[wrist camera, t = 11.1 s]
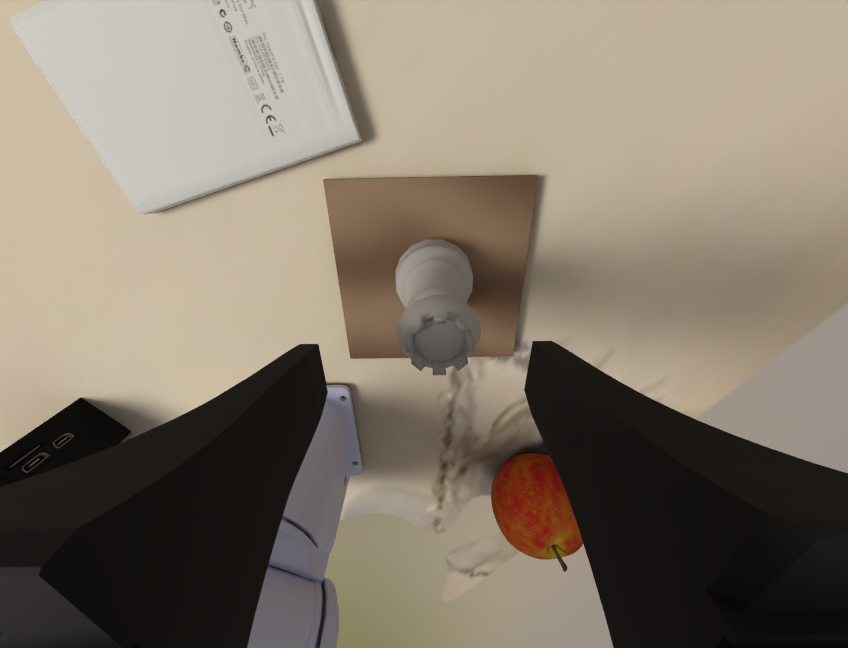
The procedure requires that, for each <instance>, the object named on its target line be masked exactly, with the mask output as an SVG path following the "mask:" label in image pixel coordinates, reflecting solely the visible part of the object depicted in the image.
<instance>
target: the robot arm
mask: <svg viewBox="0 0 848 648" xmlns="http://www.w3.org/2000/svg"><path fill="white" fill-rule="evenodd" d="M524 390H525V393H526V397H527V401H528V404H529V407H530V410H531V414H532V417H533V419H534V421H535V423H536V426H537V428H538V430H539V432H540V435H541V437H542V439H543V441H544V443H545V445H546V448H547V450H548V452H549V454H550V456H551V459H552V461H553V463H554V465H555V467H556V469H557V472H558V474H559V476H560V478H561V481H562V483H563V486H564V488H565V490H566V493H567V496H568V499H569V502H570V504H571V507H572V510H573V513H574V516H575V519H576V522H577V525H578V528H579V531H580V534H581V537H582V540H583V544H584V547H585V550H586V553H587V556H588V559H589V562H590V565H591V568H592V572H593V576H594V579H595V582H596V586H597V589H598V592H599V596H600V599H601V603H602V606H603V610H604V613H605V617H606V620H607V624H608V628H609V632H610V636H611V639H612V643H613V647H614V648H848V473H844V472H841V471H837V470H834V469H830V468H827V467H824V466H821V465H818V464H814V463H811V462H808V461H805V460H802V459H799V458H796V457H794V456H791V455H788V454H785V453H782V452H779V451H776V450H773V449H770V448H767V447H764V446H762V445H759V444H756V443H754V442H750V441H748V440H745V439H743V438H740V437H737V436H735V435H732V434H730V433H727V432H725V431H722V430H720V429H717V428H715V427H712V426H710V425H707V424H705V423H702V422H700V421H698V420H696V419H693V418H691V417H689V416H686V415H684V414H682V413H680V412H678V411H675V410H673V409H671V408H669V407H667V406H665V405H663V404H661V403H659V402H656V401H654V400H652V399H650V398H649V397H647V396H645V395H643V394H641V393H639V392H637V391H635V390H633V389H632V388H630V387H628V386H626V385H624V384H623V383H621V382H619V381H617V380H616V379H614V378H612V377H610V376H609V375H607V374H605V373H604V372H602V371H600V370H599V369H597V368H595V367H594V366H592V365H591V364H589V363H587V362H586V361H584V360H583V359H581V358H579V357H578V356H576V355H575V354H573V353H571V352H570V351H568V350H566V349H565V348H563V347H561V346H560V345H558V344H556V343H554V342H552V341H533V344H532V349H531V355H530V361H529V367H528V372H527V378H526V384H525V389H524ZM341 396H345V397H346V398H343V397H341ZM362 469H363V466H362V460H361V454H360V448H359V442H358V436H357V430H356V423H355V417H354V411H353V405H352V399H351V393H350V389H349V387H348V386H346V385H326V380H325V375H324V370H323V365H322V360H321V355H320V350H319V345H318V344H300V345H298V346H296V347H294V348H293V349H291V350H289V351H288V352H286V353H285V354H283V355H282V356H280V357H279V358H277V359H276V360H274V361H273V362H271V363H270V364H268V365H267V366H265V367H264V368H262V369H261V370H259V371H258V372H256V373H255V374H253V375H251V376H250V377H248V378H247V379H245V380H243V381H242V382H240V383H239V384H237V385H235V386H234V387H232V388H230V389H229V390H227V391H225V392H224V393H222V394H220V395H219V396H217V397H215V398H214V399H212V400H210V401H208V402H206V403H205V404H203V405H201V406H199V407H197V408H195V409H193V410H191V411H189V412H187V413H185V414H183V415H181V416H180V417H178V418H175V419H173V420H171V421H169V422H167V423H165V424H163V425H160V426H158V427H156V428H154V429H151V430H149V431H147V432H145V433H143V434H140V435H138V436H136V437H134V438H131V439H129V440H127V441H125V442H122V443H120V444H117V445H115V446H113V447H110V448H108V449H105V450H103V451H100V452H98V453H95V454H93V455H90V456H87V457H85V458H82V459H79V460H77V461H74V462H71V463H69V464H66V465H63V466H61V467H58V468H55V469H52V470H50V471H47V472H44V473H41V474H38V475H35V476H32V477H29V478H26V479H23V480H20V481H17V482H14V483H11V484H8V485H5V486H2V487H0V648H336V645H337V638H338V629H339V609H338V603H337V594H336V589H335V586H334V584H333V582H332V581H331V580H330V579H327V578H325V577H324V575H325V570H326V567H327V562H328V558H329V554H330V552H331V550H332V547H333V544H334V541H335V537H336V532H337V528H338V524H339V520H340V515H341V511H342V507H343V503H344V498H345V494H346V490H347V486H348V481H349V477H350V475H359V474H361V473H362Z"/></svg>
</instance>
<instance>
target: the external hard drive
mask: <svg viewBox="0 0 848 648" xmlns="http://www.w3.org/2000/svg"><path fill="white" fill-rule="evenodd" d="M10 22H11V25H12V27H13V29H14V31H15V32H16V34H17V36H18V37H19V39H20V40H21V42H22V43H23V44H24V46H25V47H26V49H27V50H28V52H29V53H30V55H31V56H32V58H33V59H34V61H35V62H36V64H37V65H38V66H39V68H40V70H41V71H42V73H43V74H44V75H45V77H46V78H47V80H48V81H49V83H50V84H51V86H52V87H53V89H54V90H55V92H56V93H57V94H58V96H59V97H60V99H61V100H62V102H63V103H64V105H65V106H66V108H67V109H68V111H69V112H70V114H71V115H72V117H73V118H74V120H75V121H76V123H77V124H78V126H79V127H80V128H81V130H82V131H83V133H84V134H85V136H86V137H87V138H88V140H89V142H90V144H91V145H92V146H93V148H94V149H95V151H96V152H97V154H98V155H99V157H100V158H101V160H102V161H103V162H104V164H105V165H106V167H107V168H108V170H109V172H110V173H111V174H112V176H113V177H114V179H115V180H116V182H117V183H118V185H119V186H120V188H121V189H122V191H123V192H124V193H125V195H126V196H127V198H128V199H129V201H130V202H131V203H132V204H133V206H134V207H135V208H136V209H137V210H138V212H139V213H141V214H150V213H157V212H159V211H162V210H165V209H168V208H171V207H174V206H177V205H180V204H183V203H185V202H188V201H191V200H194V199H197V198H200V197H202V196H205V195H208V194H211V193H214V192H217V191H220V190H223V189H226V188H229V187H231V186H234V185H237V184H240V183H243V182H246V181H249V180H252V179H255V178H258V177H261V176H263V175H266V174H269V173H272V172H275V171H278V170H281V169H284V168H287V167H290V166H293V165H295V164H298V163H301V162H304V161H307V160H310V159H313V158H316V157H319V156H322V155H324V154H327V153H330V152H333V151H336V150H339V149H342V148H345V147H348V146H351V145H353V144H356V143H359V142H362V137H361V134H360V131H359V128H358V125H357V122H356V119H355V116H354V113H353V110H352V107H351V104H350V101H349V98H348V95H347V92H346V89H345V86H344V83H343V80H342V76H341V73H340V70H339V67H338V64H337V61H336V59H335V57H334V54H333V52H332V49H331V46H330V43H329V39H328V36H327V33H326V30H325V27H324V24H323V21H322V15H321V12H320V9H319V6H318V3H317V0H45V1H43V2H40V3H38V4H36V5H34V6H32V7H30V8H28V9H25V10H23V11H21V12H19V13H17V14H15V15H13V16H11V17H10Z"/></svg>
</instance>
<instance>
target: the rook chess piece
mask: <svg viewBox="0 0 848 648" xmlns="http://www.w3.org/2000/svg"><path fill="white" fill-rule="evenodd" d="M395 273H396V276H395V279H396V292H397V294H398V296H399V298H400V300H401V302H402V304H403V305H404V306H405V307H406V310H405V311H404V312H403V313H402V316H401V318H400V321H399V323H398V325H397V338H398V343H399V345H400V347H401V348H402V350H403V352H404V354H405V355H406V356H408V357H409V358H410V359H411V360H412V362H411V364H413V365H414V366H415V367H416V368H418V369H419V370H420V371H421V370H422V369H423V368H424V367H425V366H426V367H429V368H433V375H446V370H445V368H448V367H450V366H453V365H454V366H455V367H456V368H457V370H458V371H459V370H460V369H461V368H463V367H464V366H465V365H466V364H468V360H467V358H468V357H469V356H470V355H471V354H473V353H474V350H475V348H476V347H477V345H478V343H479V341H480V334H481V324H480V322H479V319H478V317H477V314H476V312H475V311H474V310H473V309H472V308H471V307H470V306H469V305H468V304H467V300H468V298H469V296H470V294H471V292H472V288H473V273H472V268H471V265H470V263H469V260H468V257H467V256H466V255H465V254H464V253H463V252H462V250H461V249H460V248H459V247H458V246H457V245H454V244H452V243H449V242H447V241H445V240H442V239H437V240H424V241H422V242H419V243H417V244H415V245H412V246H411V247H410V248H409V249H408V250H407V251H406V252H405V253H404V254H403V255H402V256H401V257H400V260H399V263H398V265H397V268H396V271H395Z"/></svg>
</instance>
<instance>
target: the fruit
mask: <svg viewBox="0 0 848 648" xmlns="http://www.w3.org/2000/svg"><path fill="white" fill-rule="evenodd" d="M491 500H492V508H493V512H494V515H495V518H496V521H497V524H498V526H499V528H500V530H501V531H502V533H503V535H504V536H505V538H506V539H507V540H508V541H509V543H511V544H512V545H513V546H514V547H515V548H516V549H517V550H519V551H521V552H522V553H524V554H526V555H528V556H531V557H534V558H538V559H555V558H557V559H558V561H559V562H560V564H561V566H562V568H563V570H564V572H565V571H566V570H567V566H566V564H565V563H564V562H563V560H562V558H561V557H564V556H568V555H571V554H573V553H575V552H576V551H577V550H578V549H579V548H580V547H581V546H582V544H583V540H582V537H581V534H580V531H579V528H578V525H577V522H576V519H575V516H574V513H573V510H572V507H571V504H570V502H569V499H568V496H567V493H566V490H565V488H564V486H563V483H562V481H561V478H560V476H559V474H558V472H557V469H556V467H555V465H554V463H553V461H552V459H551V456H548V455H544V454H537V453H525V454H519V455H516V456H514V457H512V458H511V459H509V460H508V461H507V462H506V463H505V464H503V465H502V466H501V467H500V469H499V470H498V472H497V474H496V476H495V478H494V480H493V484H492V490H491Z"/></svg>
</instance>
